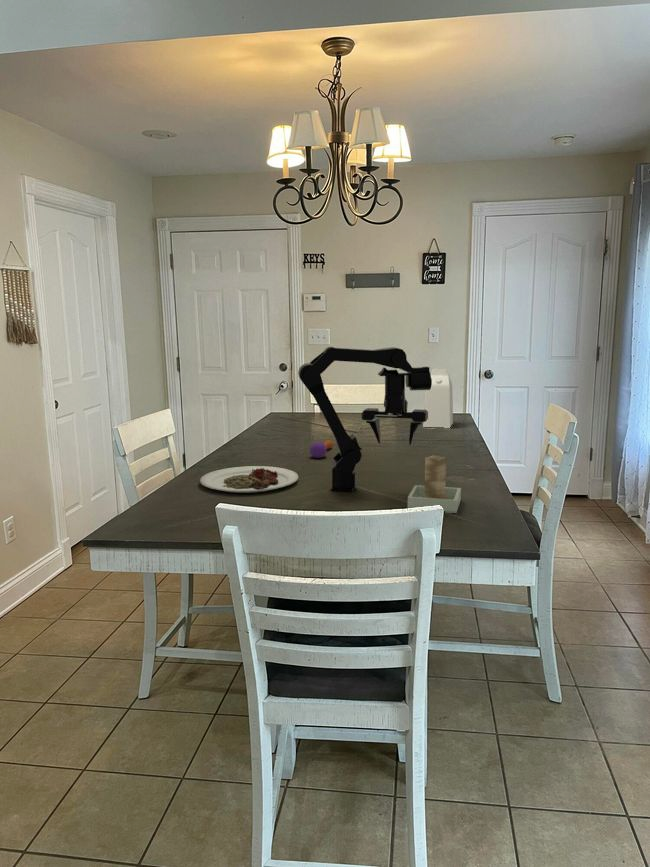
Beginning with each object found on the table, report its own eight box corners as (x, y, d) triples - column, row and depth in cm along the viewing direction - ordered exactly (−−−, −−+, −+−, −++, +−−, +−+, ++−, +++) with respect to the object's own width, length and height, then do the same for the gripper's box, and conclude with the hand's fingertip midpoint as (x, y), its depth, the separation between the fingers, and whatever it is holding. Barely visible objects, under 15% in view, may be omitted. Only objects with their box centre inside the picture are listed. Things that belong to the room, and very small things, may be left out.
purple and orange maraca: (337, 438, 250) (325, 444, 230) (334, 453, 251) (322, 461, 231) (322, 435, 251) (309, 441, 232) (319, 450, 252) (306, 457, 233)
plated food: (186, 495, 189) (185, 483, 188) (217, 470, 218) (216, 460, 217) (288, 498, 185) (288, 486, 184) (305, 472, 214) (305, 462, 213)
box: (407, 510, 171) (407, 497, 171) (414, 497, 183) (415, 485, 183) (456, 513, 168) (456, 500, 167) (460, 500, 180) (460, 488, 179)
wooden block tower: (416, 503, 175) (417, 458, 173) (430, 497, 180) (431, 453, 178) (439, 508, 171) (440, 461, 168) (452, 502, 176) (453, 457, 174)
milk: (452, 424, 300) (454, 368, 295) (449, 429, 289) (451, 370, 284) (426, 423, 304) (427, 367, 299) (422, 427, 293) (423, 370, 288)
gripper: (431, 388, 194) (430, 439, 197) (369, 387, 200) (370, 437, 202) (425, 393, 184) (424, 447, 186) (361, 391, 189) (361, 444, 192)
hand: (394, 443), depth 192 cm, fingers open, 9 cm apart
